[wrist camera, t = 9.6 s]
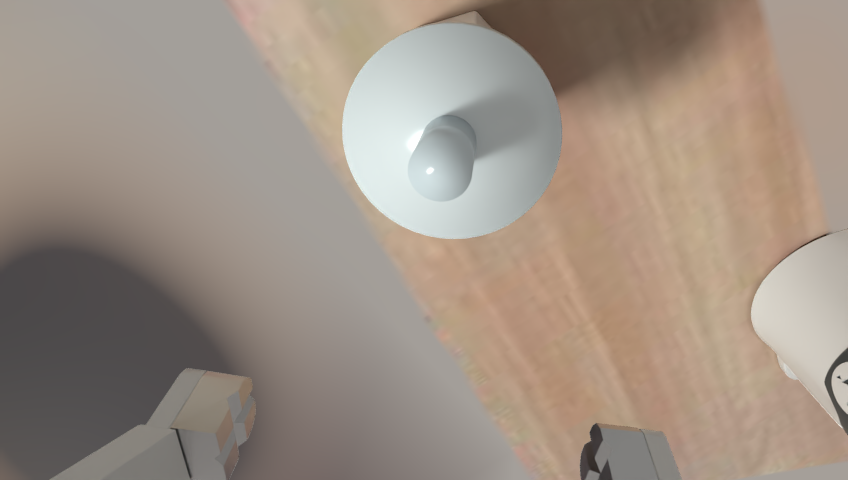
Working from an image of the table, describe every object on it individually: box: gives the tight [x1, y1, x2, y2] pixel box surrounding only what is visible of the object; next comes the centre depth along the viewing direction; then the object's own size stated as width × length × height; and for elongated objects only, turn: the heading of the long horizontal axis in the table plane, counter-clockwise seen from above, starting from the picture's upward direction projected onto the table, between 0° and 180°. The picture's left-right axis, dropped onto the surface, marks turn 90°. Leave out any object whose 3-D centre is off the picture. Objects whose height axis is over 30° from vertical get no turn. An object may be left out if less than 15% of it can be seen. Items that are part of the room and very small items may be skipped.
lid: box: [342, 21, 562, 239], centre depth 24 cm, size 11×11×5 cm
